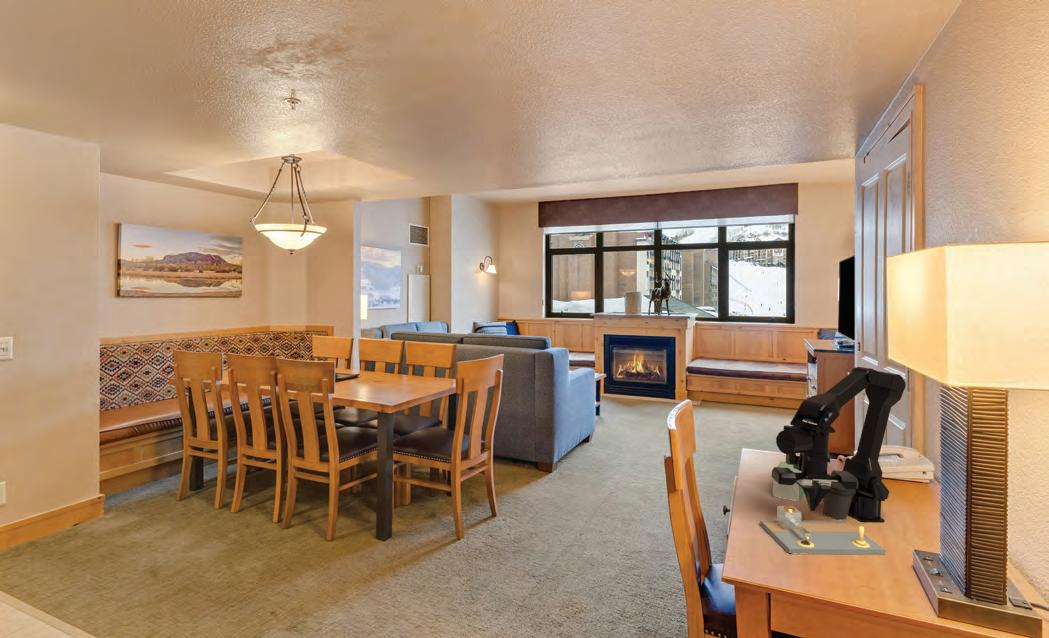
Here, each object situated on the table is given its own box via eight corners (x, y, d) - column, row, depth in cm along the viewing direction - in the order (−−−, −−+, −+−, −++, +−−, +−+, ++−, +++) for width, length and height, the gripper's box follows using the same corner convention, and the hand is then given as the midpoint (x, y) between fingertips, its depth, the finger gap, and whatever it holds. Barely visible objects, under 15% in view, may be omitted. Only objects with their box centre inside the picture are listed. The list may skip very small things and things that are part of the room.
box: (806, 488, 162) (807, 464, 161) (799, 502, 151) (800, 476, 150) (780, 483, 166) (781, 459, 166) (771, 496, 155) (772, 471, 155)
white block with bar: (792, 523, 134) (793, 504, 134) (816, 544, 123) (817, 524, 123) (776, 523, 134) (777, 504, 134) (799, 544, 123) (800, 524, 123)
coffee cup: (810, 512, 145) (814, 480, 142) (831, 504, 148) (834, 472, 145) (838, 529, 137) (843, 495, 135) (859, 520, 141) (863, 486, 138)
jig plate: (844, 525, 136) (845, 504, 136) (884, 554, 121) (886, 531, 121) (759, 524, 136) (760, 504, 136) (789, 554, 121) (790, 531, 121)
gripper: (839, 443, 140) (836, 501, 141) (765, 439, 142) (763, 496, 143) (860, 456, 129) (857, 518, 130) (780, 451, 131) (777, 513, 132)
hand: (812, 510), depth 134 cm, fingers closed
